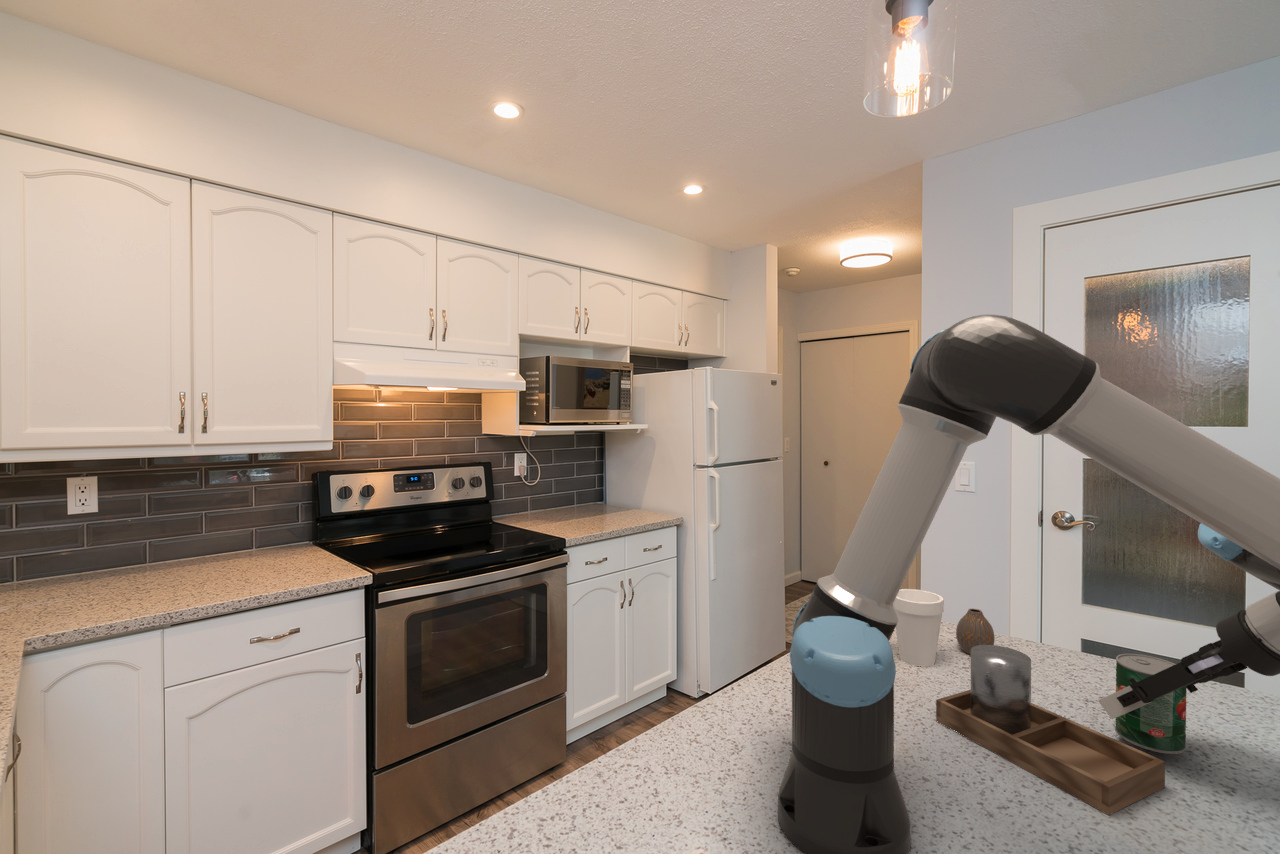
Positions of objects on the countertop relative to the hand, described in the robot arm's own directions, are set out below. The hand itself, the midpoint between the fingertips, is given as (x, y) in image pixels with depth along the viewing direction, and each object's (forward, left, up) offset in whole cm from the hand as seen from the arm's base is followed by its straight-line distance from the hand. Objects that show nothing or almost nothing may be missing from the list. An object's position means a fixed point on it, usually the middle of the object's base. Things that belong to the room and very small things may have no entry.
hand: (1122, 703), depth 89 cm
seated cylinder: (-9, +15, -5) cm, 18 cm away
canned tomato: (-2, -3, -4) cm, 5 cm away
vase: (+23, +22, -5) cm, 33 cm away
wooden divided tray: (-12, +10, -5) cm, 16 cm away
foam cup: (+12, +31, -5) cm, 34 cm away
